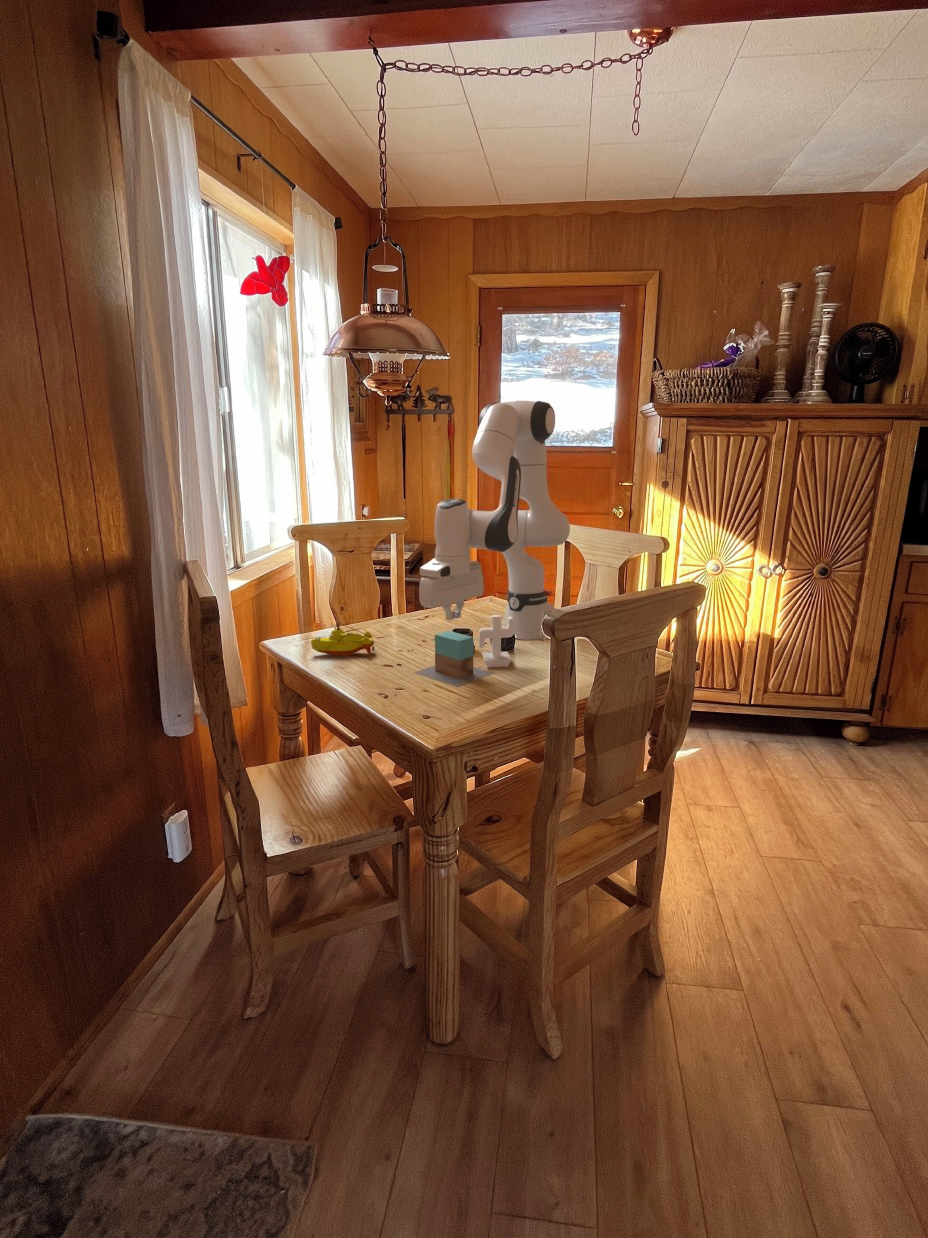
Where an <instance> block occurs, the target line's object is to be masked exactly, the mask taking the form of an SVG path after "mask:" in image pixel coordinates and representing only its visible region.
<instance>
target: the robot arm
mask: <svg viewBox="0 0 928 1238" xmlns="http://www.w3.org/2000/svg"><path fill="white" fill-rule="evenodd" d="M479 413H480V414H479V418H478V428H477V432H476V435H475V438H474V440H473V444H472V448H471V456H472V460H473V462H474V464H475V466H476V467H477V468H478V469H479V470H480V471H481V472H482V473H485V474H486V475H487V476H490V477H492V478H494V479H496V480H498V481H500V482H501V486H500V487H501V488H500V494H499V495H500V497H499V503H498V508H496V509H495V510H476V509H471V508H470V507H469V506H468V502H467V500H465V499H462V498H449V499H444V500H441V501H440V502H439V503H437V505H436V507H435V508H436V509H435V514H434V515H435V516H434V539H435V544H436V545H435V546H436V547H435V549H434V550H435V551H434V558H432V559H431V560H430V561H428V562H426V563H425V564H423V565H422V566H420V567H419V574H420V576H422V577H420V580H419V585H418V586H419V587H418V588H419V589H418V590H419V591H418V593H419V594H418V595H419V596H418V597H419V603H420V605H421V606H422V607H423V608H426V609H434V608H438V607H442V610H443V611H444V613H445V619H446V620H447V621H453V620H455V619H460V618H461V617H462V610H463V608H464V605H465V600H470V599H474V598H477V597H481V596H483V595H484V592H485V583H484V575H483V571H482V564H481V563H479V562H478V560H473V561H471V550H470V548H471V549H480V550H483V549H484V550H489V551H493V552H500V553H501V554H502V555H503V558H504V560H505V561H506V565H507V572H508V573H507V575H508V576H507V577H508V589H507V592H506V593H507V594H506V599H507V600H506V601H507V604H506V606H505V612H504V623H503V625H501V627H507V626H508V618H509V617H513V618H514V633H515V634H516V636H517V639H518V640H550V639H549V638H547V637H545V635H544V634H543V632H542V628H541V625H542V621H543V619H544V617H545V615H547V614H550V613H551V612H552V611H553V610H555V609H557V608H556V607H555V606H554V605H553V604H551V602H550V601H548V597H552V596H553V590H552V589H547V588H546V589H545V567H544V565H543V563H542V562H541V561H540V560H539V559H537V558H535V557H533V556H531V555H530V554H528V553H527V551H526V547H527V548H528V547H533V548H534V547H535V548H536V547H537V548H538V547H540V548H542V547H543V548H544V547H545V548H547V547H548V548H549V547H555V546H556V547H557V546H561V545H563V544H564V543H565V542H566V541H567V540H568V538H569V535H570V532H571V525H570V521H569V518H568V517H567V516H566V515H565V514H564V513H563V512H562V511H561V510H559V509H558V507H556V505H555V504H554V502H553V501H552V498H551V497H550V493H549V489H548V482H547V481H548V480H547V479H548V478H547V476H548V475H547V463H548V462H547V460H548V459H547V446H546V445H547V444H546V441H547V440H548V439H549V438H550V437H551V436H552V434H553V433H554V431H555V430H554V429H555V426H556V413H555V410H554V407H553V406H552V405H551V403H549V402H546V401H542V400H536V401H531V400H515V401H514V400H513V401H505V402H492V403H488V404H487V405H485V406H484V408H483V409H482V410H481V411H480V412H479ZM520 499H521V500H522V501H525V502H526V503H527V505H528V506H529V509H525V510H522V509H519V504H520ZM453 603H454V604H455V607H454V609H453V610H452V609H451V608H452V607H453V606H452V604H453ZM544 638H545V639H544Z"/></svg>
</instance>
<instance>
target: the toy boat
mask: <svg viewBox="0 0 928 1238" xmlns="http://www.w3.org/2000/svg"><path fill="white" fill-rule="evenodd" d="M340 625H342V626H344V627H347V628H349V629H351V630H354V631H356V632H358V633H355V632H354V633H352V632H350V633H349V632H347V631H346V630H344V629H343V628H341V627H340ZM346 632H347V633H346ZM359 633H361V634H363V635H361V634H359ZM373 638H374V637H373V635H372V634H371V632H370V631H365V633H364V632H362V631H360V630H358V629H355V628H353V627H350V626H348V625H346V624H344V623H342V622H341V623H340V622H339V621H337V626H336V624H335V623H334V629H332V630H331V632H330V634H329V636H328V637H326V636H324V637H323V636H322V637H320V636H319V637H314V638H311V640H310V644H311V649H312V650H314V651H316V652H318V653H321V654H326V655H329V656H334V657H335V656H348V655H349V656H351V655H354V654H355V653H357V652H360V651H362V650H366V652H367V654H368V655H371V654H372V653H371V650H372V652H374V651H375V650H376V649H375V645H374V644H375V640H373Z"/></svg>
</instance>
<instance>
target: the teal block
mask: <svg viewBox="0 0 928 1238" xmlns="http://www.w3.org/2000/svg"><path fill="white" fill-rule="evenodd" d="M474 646H475V645H474V636H470V635H466V634H462V633H459V632H454V631H450V630H446V631H442V632H439V633H435V634H434V654H435V653H437V654H440V655H443V656H447V657H450V658H454V659H457V660H463V659H466V658H469V657H471V656H473V657H474V650H475V649H474Z"/></svg>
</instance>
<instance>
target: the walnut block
mask: <svg viewBox="0 0 928 1238" xmlns="http://www.w3.org/2000/svg"><path fill="white" fill-rule="evenodd" d="M434 666H435V671H436V672H439V673H442V674H445V675H449V676H452V677H455V678H458V679H462V678H464V677H467V676H470V675H473V667H474V656H471V657H469V658H466V659H463V660H457V659H454V658H450V657H447V656H443V655H440V654H437V653H435V652H434Z"/></svg>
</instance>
